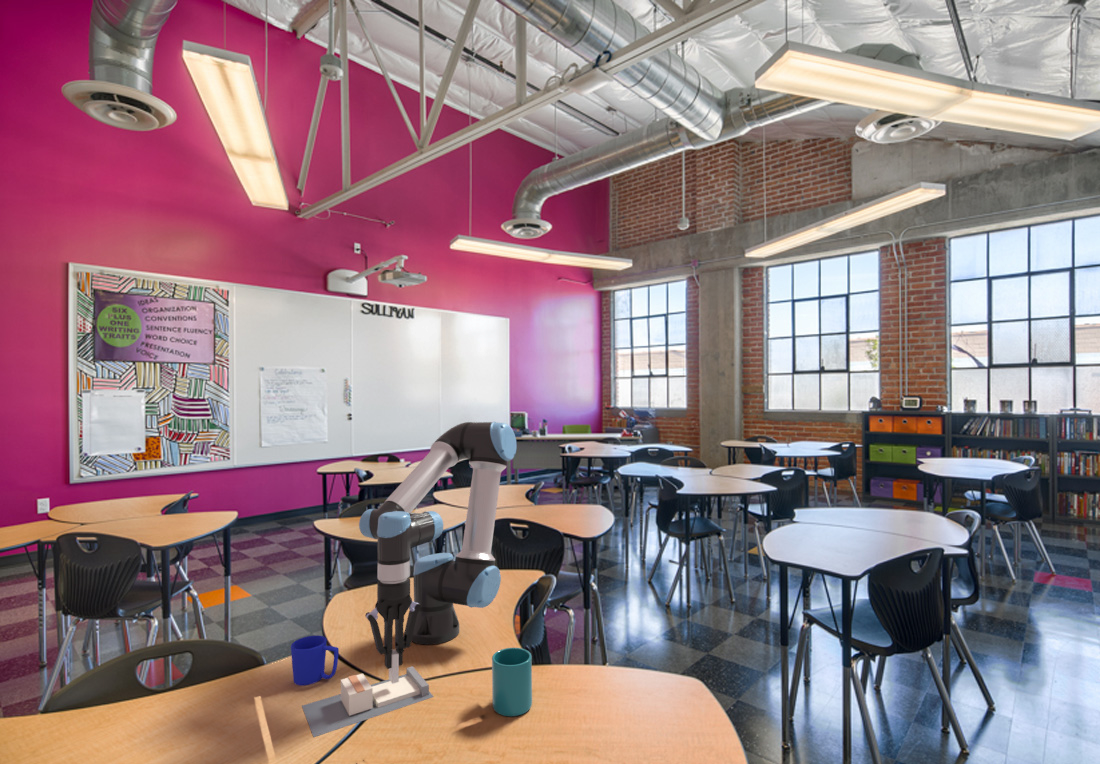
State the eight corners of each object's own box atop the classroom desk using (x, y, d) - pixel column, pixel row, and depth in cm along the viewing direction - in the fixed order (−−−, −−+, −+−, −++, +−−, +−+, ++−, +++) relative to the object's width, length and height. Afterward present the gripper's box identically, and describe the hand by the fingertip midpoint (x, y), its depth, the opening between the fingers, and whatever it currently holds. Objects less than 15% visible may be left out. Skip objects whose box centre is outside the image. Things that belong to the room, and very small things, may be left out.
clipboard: (412, 676, 136) (412, 663, 136) (433, 701, 125) (433, 687, 125) (301, 711, 122) (301, 695, 122) (313, 743, 110) (313, 726, 110)
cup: (535, 689, 129) (535, 642, 130) (529, 718, 117) (528, 666, 118) (498, 688, 130) (498, 641, 131) (488, 717, 118) (488, 665, 119)
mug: (327, 694, 128) (327, 652, 129) (283, 690, 131) (283, 648, 131) (347, 677, 136) (347, 637, 137) (305, 673, 139) (305, 634, 139)
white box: (362, 692, 126) (362, 672, 127) (372, 708, 120) (372, 687, 120) (340, 699, 124) (340, 678, 124) (349, 715, 117) (349, 694, 117)
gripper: (414, 570, 134) (414, 666, 133) (361, 579, 127) (361, 681, 126) (425, 577, 128) (425, 678, 127) (370, 588, 121) (370, 696, 120)
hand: (393, 680), depth 126 cm, fingers closed
